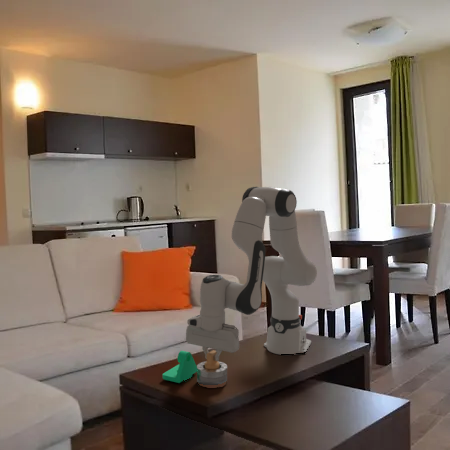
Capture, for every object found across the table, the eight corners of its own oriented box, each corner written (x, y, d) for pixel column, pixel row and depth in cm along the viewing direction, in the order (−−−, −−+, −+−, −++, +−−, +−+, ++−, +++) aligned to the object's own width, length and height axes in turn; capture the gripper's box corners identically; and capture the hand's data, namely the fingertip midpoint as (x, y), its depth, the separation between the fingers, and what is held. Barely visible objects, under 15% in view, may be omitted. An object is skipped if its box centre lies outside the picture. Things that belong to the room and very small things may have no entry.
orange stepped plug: (209, 364, 196) (209, 348, 196) (222, 367, 194) (222, 351, 193) (201, 369, 192) (201, 353, 191) (214, 372, 189) (214, 355, 189)
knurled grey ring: (207, 374, 201) (207, 358, 200) (232, 380, 195) (232, 364, 195) (191, 384, 192) (191, 368, 191) (217, 391, 186) (217, 374, 186)
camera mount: (179, 370, 205) (179, 343, 204) (197, 374, 201) (197, 347, 200) (161, 381, 195) (161, 353, 193) (179, 386, 191) (179, 357, 190)
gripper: (242, 323, 188) (242, 362, 190) (193, 315, 198) (193, 351, 200) (234, 328, 183) (233, 368, 185) (183, 319, 193) (183, 357, 195)
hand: (212, 359), depth 192 cm, fingers closed on orange stepped plug
